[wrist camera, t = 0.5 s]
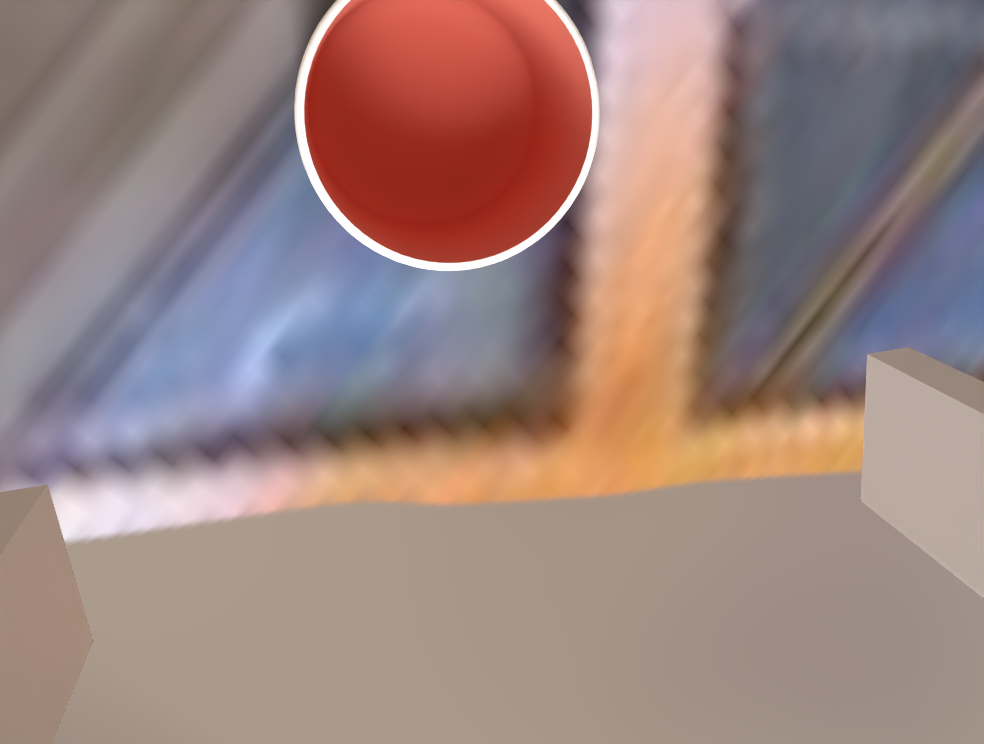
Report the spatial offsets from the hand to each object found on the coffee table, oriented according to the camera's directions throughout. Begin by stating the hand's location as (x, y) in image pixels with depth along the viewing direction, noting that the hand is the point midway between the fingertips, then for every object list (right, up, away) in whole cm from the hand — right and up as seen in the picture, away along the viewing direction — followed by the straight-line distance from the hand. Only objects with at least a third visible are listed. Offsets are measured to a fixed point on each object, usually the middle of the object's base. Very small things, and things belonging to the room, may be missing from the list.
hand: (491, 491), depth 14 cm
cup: (-3, +13, +24) cm, 28 cm away
